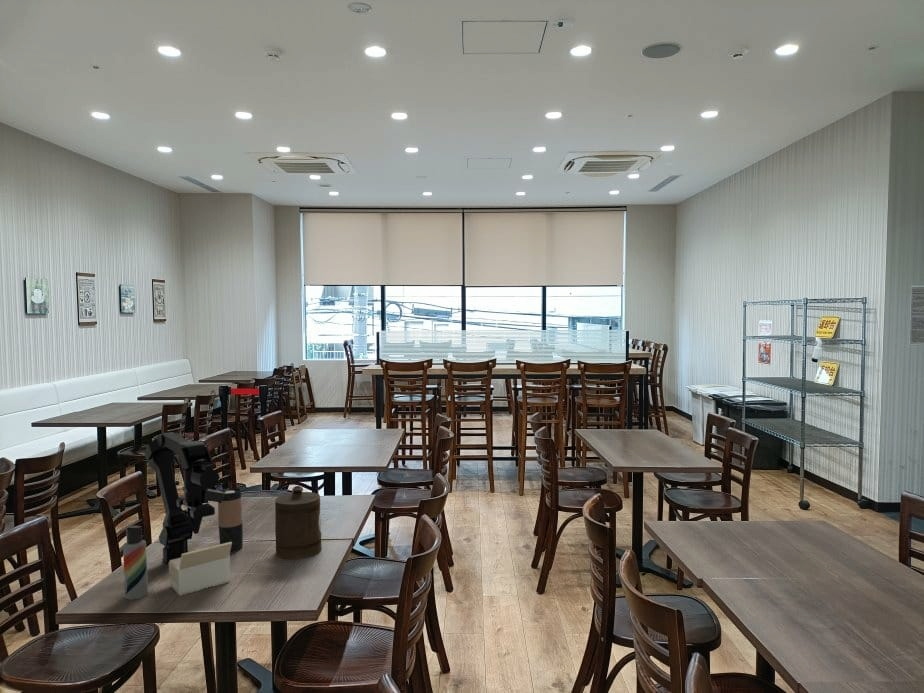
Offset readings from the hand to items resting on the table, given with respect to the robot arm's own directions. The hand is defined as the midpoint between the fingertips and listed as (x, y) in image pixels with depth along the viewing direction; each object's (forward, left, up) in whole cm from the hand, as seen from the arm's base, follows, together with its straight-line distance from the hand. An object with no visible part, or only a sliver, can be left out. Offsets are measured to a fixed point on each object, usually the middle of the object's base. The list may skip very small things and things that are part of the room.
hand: (196, 533), depth 187 cm
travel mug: (-17, -9, -12) cm, 23 cm away
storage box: (+4, +9, -12) cm, 16 cm away
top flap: (+5, +15, -2) cm, 16 cm away
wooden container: (-29, +12, -12) cm, 34 cm away
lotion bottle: (+19, +2, -12) cm, 23 cm away
